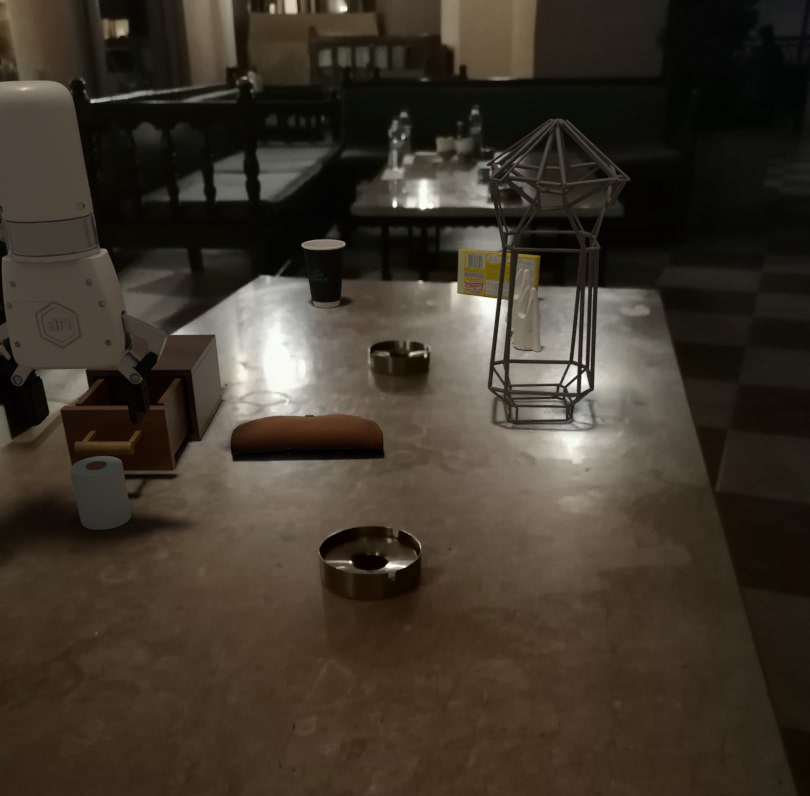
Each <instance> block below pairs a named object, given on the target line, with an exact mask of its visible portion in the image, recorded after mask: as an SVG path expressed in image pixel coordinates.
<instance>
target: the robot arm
mask: <svg viewBox="0 0 810 796" xmlns="http://www.w3.org/2000/svg"><path fill="white" fill-rule="evenodd" d="M89 184H90V183H89V179H88V173H87V168H86V162H85V157H84V151H83V146H82V140H81V133H80V129H79V123H78V118H77V112H76V107H75V102H74V99H73V96H72V94H71V92H70V91H69V89H68V88H67V87H66V86H65V85H63V84H62V83H60V82H57V81H53V80H10V81H8V80H7V81H0V212H1V216H2V219H0V222H1V223H0V242H2V243H5V245H6V249H7V251H9V252H10V253H9V254H7V255H5V256H2V257H1V278H2V279H1V281H2V284H1V285H2V293H3V295H2V296H3V297H2V298H3V305H4V315H5V320H6V321H5V322H4V323H2V324H1V325H0V372H2V373H3V374H4V375H6V376H7V377H8V378H10V381H11V383H12V384H13V385H14V386H16V387H18V390H19V394H20V398H21V402H22V407H23V411H24V414H25V415H28V418H29V422H30V425H31V426H34V427H35V426H36V427H37V426H39V425H41V424H42V423H43V422H44V421H45V420H46V419H47V418H48V417H49V416H50V408H49V404H48V399H47V395H46V390H45V385H44V381H43V379H42V378H41V375H37V374H36V372H37V371H38V370H45V371H46V370H86V369H99V368H109V367H113V366H114V367H115V368H116V369H117V370H118V371H120V372H121V373H122V374H123V375H124V376H125V377H126V378H127V379H128V382H127V383H126V385H125V393H126V399H127V405H128V410H129V416H130V421H131V423H133V424H139V423H140V422H141V421H142V419H143V418H144V417H145V415H146V412H148V411H149V409H150V402H149V396H148V390H147V384H146V378H145V376H146V375H147V374H148V373H149V371H150V370H151V369H152V368H153V367H154V365H155V364H156V363H157V362H158V361H159V359H160V357H161V353H162V351H163V349H164V346H165V343H166V340H167V337H168V336H167V335H168V333H167V332H166V331H164V329H161V328H159V327H156V326H154V325H153V324H150V323H148V322H146V321H144V320H141V319H139V318H137V317H134V316H132V315H130V314H128V309H127V306H126V305H127V304H126V302H125V298H124V294H123V290H122V287H121V284H120V281H119V279H118V275H117V272H116V269H115V266H114V264H113V261H112V259H111V256H110V254H109V251H108V250H107V249H106V248H101V246H100V241H99V235H98V231H97V230H98V229H97V224H96V219H95V218H96V217H95V213H94V207H93V200H92V196H91V190H90V185H89ZM132 335H134V336H136V337H138V338H140V339H142V340H145V341H146V342H147V344H148V348H147V352H146V354H145V356H144V357H143V359H142V360H141V359H140V358H139V357H138V356H137V355H136V354H135V353H134V352H133V351H132V350H131V349H132V346H133V340H132ZM7 339H9V344H10V345H9V346H10V349H11V352H9V351H8V350H7V348H6V347H5V346H4V341H5V340H7Z"/></svg>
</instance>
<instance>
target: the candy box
mask: <svg viewBox="0 0 810 796" xmlns="http://www.w3.org/2000/svg"><path fill="white" fill-rule="evenodd" d="M457 251H458V252H457V253H458V255H457V285H456V286H457V287H456V293H457V294H463V295H470V296H471V295H472V296H478V297H479V296H480V297H487V298H496V299H497V296H498V286H499V277H500V268H501V259H502V251H492V250H484V249H483V250H481V249H471V248H459V249H458V250H457ZM510 257H511V252H507V255H506V265H505V274H504V283H503V292H502V300H503V299H504V300H508V296H509V276H510ZM540 266H541V255H537V254H535V255H534V254H526V253H518V261H517V270H516V275H517V273H518V271H519V270H520V269H524V270H526V269H527V270H529V272H530V275H531V280H532V286H533V287H534V288H536V290H537V294H538V295H539V282H540V281H539V280H540Z"/></svg>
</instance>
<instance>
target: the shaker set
mask: <svg viewBox="0 0 810 796" xmlns="http://www.w3.org/2000/svg"><path fill="white" fill-rule="evenodd" d="M539 300H540V299H539V293H538V294H537V290H536V288H534V287H533V286H532V280H531V275H530V272H529V270H527V269H526V270H524V269H520V270H519V271H518V273H517V275H516V280H515V289H514V299H513V308H512V324H511V332H512V333H511V341H513V343H512V346H513V347H515V348H516V349H518V350H522V351H525V350H526V351H530V350H531V351H533V352H536V353H537V352H542V350H541V349H542V346H541V321H542V312H541V306H540V305H541V304H540V301H539ZM507 316H508V311H507V312H506V316H505V320H504V322H505V323H506V324H507Z"/></svg>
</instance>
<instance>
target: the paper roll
mask: <svg viewBox="0 0 810 796" xmlns="http://www.w3.org/2000/svg"><path fill="white" fill-rule="evenodd" d="M69 472H70V476H71V481H72V486H73V491H74V496H75V499H76V500H75V501H76V505H77V506H76V507H77V510H78V514H79V520H80V523H81V526H83V527H84V528H86V529H88V530H92V531H105V530H111V529H116V528H118V527H121V526H123V525H125V524H127V523H128V522H129V521H130V520H131V518H132V511H131V510H132V509H131V505H130V499H129V494H128V487H127V482H126V476H125V471H123V465H122V461H121V460H120V459H118V458H116V457H111V456H96V457H90V458H86V459H83V460H80V461H78V462H76V463H75V464H73V465H72V464H71V466H70V469H69Z"/></svg>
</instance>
